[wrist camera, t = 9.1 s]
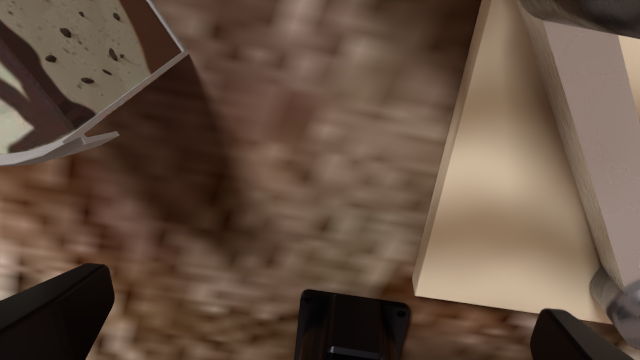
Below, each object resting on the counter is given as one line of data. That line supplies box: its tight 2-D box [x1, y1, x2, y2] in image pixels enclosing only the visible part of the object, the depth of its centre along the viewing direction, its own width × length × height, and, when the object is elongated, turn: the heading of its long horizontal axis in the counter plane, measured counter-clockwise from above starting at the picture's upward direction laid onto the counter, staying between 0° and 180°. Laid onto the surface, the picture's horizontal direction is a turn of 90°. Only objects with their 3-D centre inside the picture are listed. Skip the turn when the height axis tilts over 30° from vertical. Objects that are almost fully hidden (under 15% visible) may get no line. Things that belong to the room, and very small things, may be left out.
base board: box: [412, 0, 640, 324], centre depth 18 cm, size 20×12×2 cm, turn 174°
